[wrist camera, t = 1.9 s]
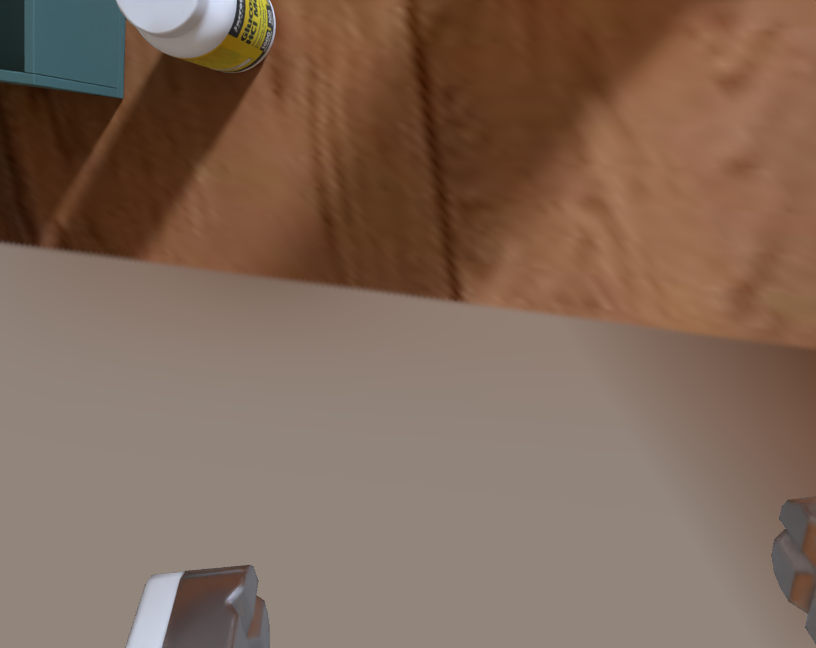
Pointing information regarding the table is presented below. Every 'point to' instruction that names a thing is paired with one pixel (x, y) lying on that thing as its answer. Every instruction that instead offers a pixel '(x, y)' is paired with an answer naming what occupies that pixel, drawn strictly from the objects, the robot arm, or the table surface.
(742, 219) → the table surface
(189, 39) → the pill bottle
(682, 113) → the table surface
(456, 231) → the table surface
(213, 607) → the robot arm
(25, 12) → the trash bin
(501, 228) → the table surface
